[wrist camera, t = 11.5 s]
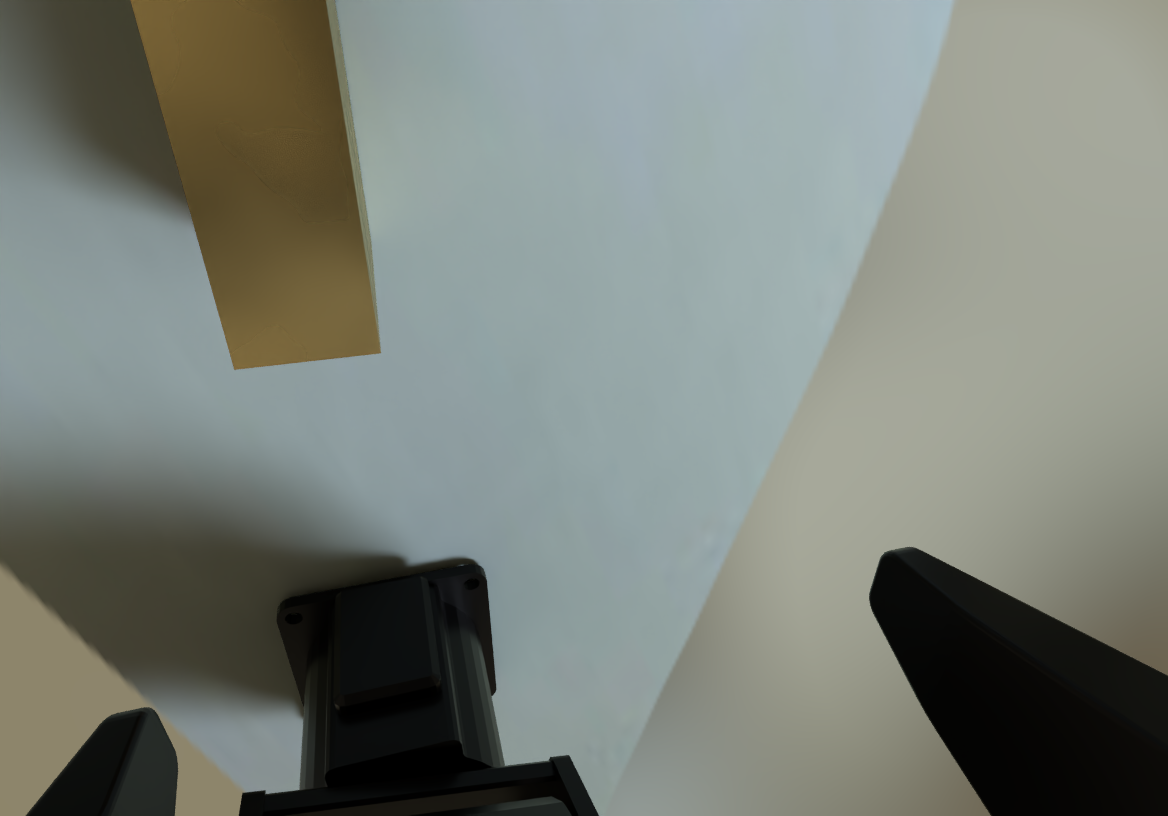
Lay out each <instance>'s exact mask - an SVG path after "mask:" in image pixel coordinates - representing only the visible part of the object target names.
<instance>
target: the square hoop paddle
mask: <svg viewBox="0 0 1168 816" xmlns="http://www.w3.org/2000/svg"><path fill="white" fill-rule="evenodd" d="M131 4H132V8H133V11H134V15H135V18H136V22H137V25H138V29H139V32H140V36H141V40H142V43H143V47H144V50H145V54H146V57H147V61H148V64H149V68H150V72H151V75H152V79H153V82H154V86H155V89H156V93H157V96H158V100H159V104H160V107H161V111H162V114H163V118H164V121H165V125H166V128H167V132H168V136H169V139H170V143H171V146H172V150H173V153H174V157H175V160H176V164H177V167H178V171H179V175H180V178H181V182H182V185H183V189H184V192H185V196H186V199H187V203H188V207H189V210H190V214H191V217H192V221H193V224H194V228H195V231H196V235H197V239H198V242H199V246H200V249H201V253H202V256H203V260H204V263H205V267H206V271H207V274H208V278H209V281H210V285H211V288H212V292H213V295H214V299H215V302H216V306H217V310H218V313H219V317H220V320H221V324H222V327H223V331H224V334H225V338H226V342H227V345H228V349H229V352H230V356H231V359H232V363H233V366H234V370H236V369H245V368H254V367H263V366H272V365H280V364H289V363H298V362H307V361H316V360H325V359H334V358H343V357H352V356H361V355H369V354H378V353H381V349H380V337H379V326H378V314H377V303H376V291H375V280H374V268H373V257H372V245H371V237H370V231H369V224H368V217H367V211H366V204H365V197H364V191H363V184H362V177H361V171H360V164H359V157H358V151H357V144H356V137H355V131H354V124H353V117H352V111H351V104H350V97H349V91H348V84H347V77H346V71H345V64H344V57H343V51H342V44H341V37H340V31H339V24H338V17H337V11H336V4H335V0H131Z"/></svg>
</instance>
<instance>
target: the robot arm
mask: <svg viewBox="0 0 1168 816" xmlns="http://www.w3.org/2000/svg"><path fill="white" fill-rule="evenodd" d="M471 578H475V580H472V581H467V580H468V579H471ZM869 600H870V606H871V609H872V612H873V614H874V616H875V618H876V620H877V621H878V623H879V625H880V627H881V629H882V631H883V633H884V635H885V637H886V639H887V640H888V643H889V645H890V646H891V648H892V651H893V652H894V654H895V656H896V658H897V660H898V662H899V664H900V666H901V668H902V670H903V672H904V674H905V676H906V677H907V680H908V681H909V683H910V685H911V687H912V689H913V691H914V693H915V695H916V697H917V699H918V701H919V702H920V704H921V706H922V708H923V709H924V711H925V713H926V715H927V716H928V718H929V720H930V721H931V723H932V725H933V726H934V728H935V729H936V731H937V733H938V734H939V736H940V737H941V739H942V740H943V742H944V743H945V745H946V747H947V748H948V750H949V751H950V752H951V754H952V756H953V757H954V759H955V760H956V762H957V763H958V765H959V767H960V768H961V770H962V771H963V773H964V775H965V776H966V777H967V779H968V781H969V782H970V784H971V785H972V787H973V789H974V790H975V791H976V793H977V795H978V796H979V798H980V799H981V801H982V803H983V804H984V806H985V807H986V809H987V810H988V812H989V813H990V815H991V816H1168V675H1165V674H1163V673H1162V672H1159V671H1158V670H1156V669H1154V668H1152V667H1150V666H1148V665H1146V664H1144V663H1142V662H1140V661H1138V660H1136V659H1134V658H1132V657H1130V656H1128V655H1126V654H1124V653H1122V652H1120V651H1118V650H1116V649H1114V648H1112V647H1110V646H1108V645H1107V644H1105V643H1103V642H1100V641H1098V640H1097V639H1095V638H1092V637H1091V636H1089V635H1087V634H1085V633H1083V632H1081V631H1079V630H1077V629H1075V628H1073V627H1071V626H1069V625H1067V624H1065V623H1063V622H1061V621H1059V620H1057V619H1055V618H1053V617H1051V616H1049V615H1047V614H1045V613H1043V612H1041V611H1039V610H1038V609H1036V608H1034V607H1031V606H1030V605H1028V604H1026V603H1024V602H1022V601H1020V600H1018V599H1016V598H1014V597H1012V596H1010V595H1008V594H1006V593H1004V592H1002V591H1000V590H998V589H996V588H994V587H992V586H990V585H988V584H986V583H984V582H982V581H980V580H978V579H976V578H975V577H973V576H971V575H969V574H967V573H965V572H963V571H961V570H959V569H957V568H955V567H953V566H950V565H949V564H947V563H945V562H943V561H941V560H939V559H937V558H935V557H933V556H931V555H929V554H927V553H925V552H923V551H921V550H919V549H917V548H913V547H905V548H900V549H895V550H891V551H887V552H885V553H884V554H883V555H882V556H881V558H880V561H879V564H878V567H877V570H876V573H875V576H874V580H873V583H872V586H871V589H870V593H869ZM290 613H299V614H297V615H291V614H290ZM277 624H278V627H279V630H280V633H281V636H282V640H283V643H284V646H285V649H286V652H287V655H288V659H289V662H290V665H291V668H292V671H293V674H294V678H295V681H296V684H297V687H298V690H299V693H300V696H301V700H302V703H303V706H304V718H303V736H302V754H301V772H300V789H299V790H296V791H288V792H279V793H271V794H265V793H266V790H264V791H255V792H246V793H242V799H241V805H240V812H239V816H599V815H598V813H597V811H596V809H595V807H594V805H593V803H592V801H591V799H590V797H589V795H588V793H587V790H586V788H585V786H584V784H583V782H582V780H581V778H580V776H579V774H578V772H577V770H576V768H575V766H574V764H573V762H572V760H571V758H570V756H569V755H565V756H556V757H550V759H549V761H542V762H534V763H525V764H517V765H508V766H505V763H504V758H503V753H502V748H501V743H500V738H499V733H498V728H497V722H496V717H495V712H494V707H493V702H492V697H491V696H493V694H494V693H495V692H496V680H495V668H494V657H493V645H492V634H491V623H490V611H489V600H488V588H487V579H486V575H485V571H484V569H483V568H482V567H481V566H479V565H475V564H469V565H464V566H458V567H453V568H447V569H442V570H437V571H431V572H426V573H421V574H415V575H410V576H405V577H399V578H394V579H389V580H383V581H378V582H372V583H367V584H362V585H356V586H351V587H346V588H340V589H335V590H330V591H324V592H319V593H313V594H308V595H303V596H297V597H292V598H289V599H286V600H284V601H283V602H281V603H280V605H279V606H278V611H277ZM177 777H178V763H177V756H176V752H175V749H174V747H173V745H172V743H171V741H170V739H169V737H168V735H167V733H166V731H165V729H164V727H163V725H162V723H161V721H160V718H159V716H158V715H157V713H156V712H155V710H153V709H152V708H149V707H144V708H139V709H135V710H130V711H125V712H121V713H116V714H113V715H111V716H109V717H108V718H106V719H105V720H104V721H103V722H102V723H101V724H100V725H99V726H98V728H97V729H96V730H95V731H94V732H93V734H92V735H91V736H90V737H89V739H88V740H87V741H86V742H85V743H84V745H83V746H82V747H81V748H80V750H79V751H78V752H77V753H76V755H75V756H74V757H73V758H72V759H71V761H70V762H69V763H68V764H67V766H66V767H65V768H64V769H63V771H62V772H61V773H60V774H59V775H58V777H57V778H56V779H55V780H54V781H53V783H52V784H51V785H50V787H49V788H48V789H47V790H46V791H45V793H44V794H43V795H42V796H41V797H40V799H39V800H38V801H37V803H36V804H35V805H34V806H33V807H32V808H31V810H30V811H29V812H28V814H27V815H26V816H175V804H176V790H177Z"/></svg>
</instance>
